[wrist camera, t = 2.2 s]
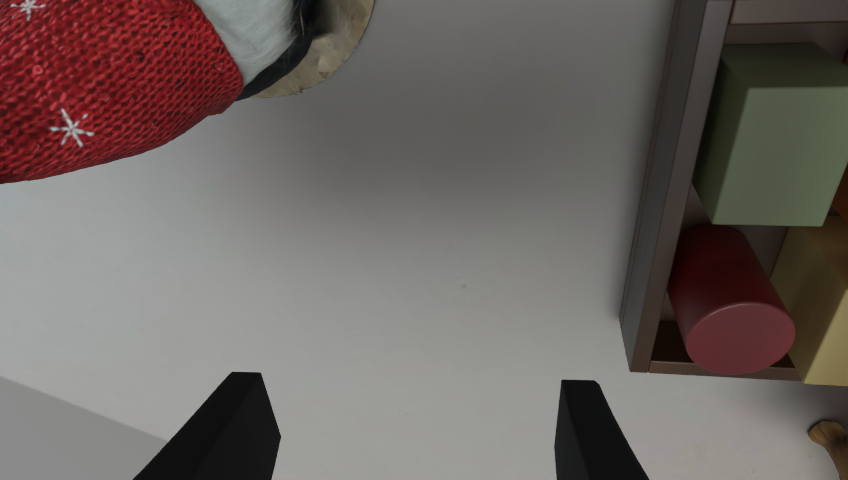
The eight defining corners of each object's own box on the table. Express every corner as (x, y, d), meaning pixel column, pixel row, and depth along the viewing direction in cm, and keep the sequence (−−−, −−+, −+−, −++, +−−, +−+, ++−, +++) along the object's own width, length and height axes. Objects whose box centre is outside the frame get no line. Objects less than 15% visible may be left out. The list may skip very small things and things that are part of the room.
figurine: (389, -440, 9) (189, 328, 8) (406, -66, 19) (315, 294, 18) (-133, -565, 9) (-368, 190, 8) (159, -126, 19) (60, 232, 18)
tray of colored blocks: (1031, -38, 14) (1222, 10, 10) (850, 330, 21) (924, 439, 17) (679, -25, 15) (733, 23, 11) (618, 320, 22) (639, 420, 18)
